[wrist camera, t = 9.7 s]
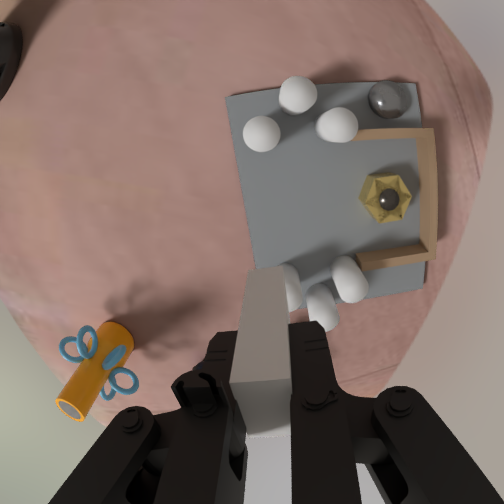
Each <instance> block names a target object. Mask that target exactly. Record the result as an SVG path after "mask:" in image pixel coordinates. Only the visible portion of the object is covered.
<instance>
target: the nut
mask: <svg viewBox="0 0 504 504" xmlns="http://www.w3.org/2000/svg"><path fill="white" fill-rule="evenodd" d="M411 197H412V195H411V194H410V192H409V191H408V189H407V187H406V186H405V184H404V183H403V181H402V179H401V178H400V176H399V175H397V174H394V173H391V172H387V173H379V174H372V175H367V177H366V179H365V182H364V184H363V187H362V190H361V192H360V195H359V197H358V199H359V200H360V202H361V203H362V204H363V206H364V207H365V209H366V210H367V211H368V213H369V214H370V216H371V217H372V218H373V219H374V220H376V221H377V222H378V223H379V224H380V223H386V222H392V221H398V220H402V219H403V217H404V214H405V212H406V210H407V207H408V205H409V202H410V200H411Z"/></svg>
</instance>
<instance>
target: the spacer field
mask: <svg viewBox="0 0 504 504" xmlns="http://www.w3.org/2000/svg"><path fill="white" fill-rule="evenodd" d="M376 83H378V82H352V83H330V84H316V85H314V84H313V82H312V81H310V80H309V79H308V78H305V77H302V76H293V77H290V78H288V79H286V80H285V81H284V82H283V84H282V86H281V88H278V89H270V90H263V91H257V92H251V93H245V94H239V95H234V96H229V97H225V100H226V105H227V111H228V116H229V122H230V127H231V133H232V139H233V144H234V150H235V155H236V161H237V166H238V172H239V177H240V183H241V188H242V194H243V200H244V205H245V211H246V216H247V222H248V227H249V233H250V238H251V244H252V250H253V255H254V261H255V266H256V269H261V268H269V267H276V266H283V272H284V279H285V286H286V294H287V301H288V308H289V312H292V311H294V310H296V309H302V308H308V313H309V319H310V321H315V320H316V321H317V322H318V323H319V324H320V325H322V326H323V327H324V329H325V332H327V331H330V330H332V329H333V328H335V327H336V326H337V324H338V323H339V319H340V317H339V313H338V310H337V307H336V304H337V303H344V302H347V303H356V302H359V301H360V300H362V299H368V298H374V297H380V296H385V295H391V294H396V293H402V292H407V291H412V290H417V289H422V288H423V281H424V270H425V261H429V260H435V259H436V247H437V226H438V180H437V160H436V147H435V136H434V128H422V122H421V115H420V108H419V102H418V96H417V90H416V85H415V83H396V84H398V85H399V86H400V87H401V88H402V89H403V90H404V92H405V94H406V96H407V101H408V105H407V109H406V111H405V113H404V114H403V115H402V116H401V117H399V118H395V119H384V118H381V117H379V116H378V115H376V114H375V113H374V112H373V111H372V109H371V108H370V106H369V103H368V93H369V90H370V88H371V87H372V86H373V85H374V84H376ZM387 172H391V173H394V174H397V175H399V176H400V178H401V179H402V181H403V183H404V184H405V186H406V187H407V189H408V191H409V192H410V194H411V195H412V197H411V200H410V202H409V205H408V207H407V210H406V212H405V214H404V217H403V219H402V220H398V221H392V222H386V223H380V224H379V223H378V222H377V221H376V220H374V219H373V218H372V217H371V216H370V214H369V213H368V211H367V210H366V209H365V207H364V206H363V204H362V203H361V202H360V200H359V199H358V197H359V195H360V192H361V190H362V187H363V184H364V182H365V179H366V177H367V175H372V174H379V173H387Z"/></svg>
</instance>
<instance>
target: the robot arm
mask: <svg viewBox="0 0 504 504" xmlns="http://www.w3.org/2000/svg"><path fill="white" fill-rule="evenodd" d="M21 50H22V32H21V30H20V28H19V26H17V25H16V24H12V23H8V22H0V100H1V99H2V97H3V96H4V94H5V93H6V91H7V89H8V87H9V86H10V84H11V81H12V79H13V77H14V75H15V72H16V69H17V66H18V63H19V59H20V55H21ZM171 389H172V390H173V392H174V394H175V396H176V398H177V400H178V402H179V404H180V406H181V408H180V409H178V410H175V411H171V412H167V413H162V414H157V415H152V413H151V412H150V410H148V409H146V408H145V407H140V406H133V407H128V408H126V409H124V410H122V411H120V412H119V413H118V414H117V415H116V416H115V417H114V419H113V420H112V421H111V422H110V424H109V425H108V426H107V428H106V429H105V430H104V432H103V433H102V434H101V435H100V437H99V438H98V439H97V441H96V442H95V443H94V445H93V446H92V447H91V448H90V450H89V451H88V452H87V454H86V455H85V456H84V458H83V459H82V460H81V461H80V463H79V464H78V465H77V467H76V468H75V469H74V470H73V472H72V473H71V474H70V476H69V477H68V478H67V480H66V481H65V482H64V483H63V485H62V486H61V488H60V489H59V490H58V491H57V493H56V494H55V495H54V497H53V498H52V499H51V500H50V502H49V503H48V504H243V502H244V492H245V481H246V470H247V458H248V451H247V446H246V444H245V437H246V432H247V434H248V437H249V438H265V437H279V436H291V469H292V504H362V502H361V494H360V488H359V482H358V475H357V469H356V463H362V464H365V466H366V468H367V470H368V471H369V473H370V475H371V477H372V479H373V481H374V483H375V485H376V487H377V488H378V490H379V492H380V494H381V496H382V498H383V500H384V502H385V504H504V501H503V500H502V498H501V497H500V496H499V494H498V493H497V491H496V490H495V488H494V487H493V486H492V484H491V483H490V482H489V480H488V479H487V478H486V476H485V475H484V474H483V472H482V471H481V470H480V468H479V467H478V465H477V464H476V463H475V462H474V460H473V459H472V458H471V456H470V455H469V454H468V452H467V451H466V450H465V449H464V447H463V446H462V445H461V443H460V442H459V441H458V440H457V438H456V437H455V436H454V435H453V433H452V432H451V431H450V429H449V428H448V427H447V426H446V424H445V423H444V422H443V421H442V419H441V418H440V417H439V416H438V414H437V413H436V412H435V411H434V410H433V408H432V407H431V406H430V405H429V403H428V402H427V401H426V400H425V399H424V397H423V396H422V395H421V394H420V393H419V392H417V391H416V390H415V389H413V388H410V387H407V386H394V387H391V388H387V389H386V390H384V391H383V392H381V393H380V394H379V395H378V397H377V398H367V397H358V396H353V395H351V394H348V393H346V392H345V391H343V390H342V389H341V388H340V387H339V385H338V383H337V381H336V377H335V373H334V368H333V364H332V359H331V355H330V350H329V346H328V342H327V338H326V333H325V329H324V327H323V326H322V325H320V324H319V323H318V322H317V321H316V320H315V321H308V322H301V323H293V324H290V316H289V308H288V301H287V294H286V286H285V279H284V272H283V266H276V267H269V268H261V269H254V270H248V275H247V281H246V287H245V293H244V298H243V304H242V310H241V316H240V322H239V328H238V331H227V332H217V333H216V335H215V336H214V337H213V338H212V339H211V340H210V342H209V345H208V349H207V354H206V356H205V359H204V363H203V366H202V369H198V370H192V371H189V372H187V373H184V374H182V375H181V376H180V377H178V378H177V379H176V380H175V381H174V383H173V384H172V386H171Z"/></svg>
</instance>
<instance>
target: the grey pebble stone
mask: <svg viewBox="0 0 504 504" xmlns="http://www.w3.org/2000/svg"><path fill="white" fill-rule="evenodd" d="M368 103H369V106H370V108H371V109H372V111H373V112H374V113H375V114H376V115H378V116H379V117H381V118H384V119H395V118H399V117H401V116H402V115H403V114H404V113H405V111H406V109H407V105H408V101H407V96H406V94H405V92H404V90H403V89H402V88H401V87H400V86H399V85H398V84H396V83H395V82H392V81H388V80H384V81H380V82H378V83H376V84H374V85H373V86H372V87H371V88H370V90H369V93H368Z"/></svg>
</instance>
